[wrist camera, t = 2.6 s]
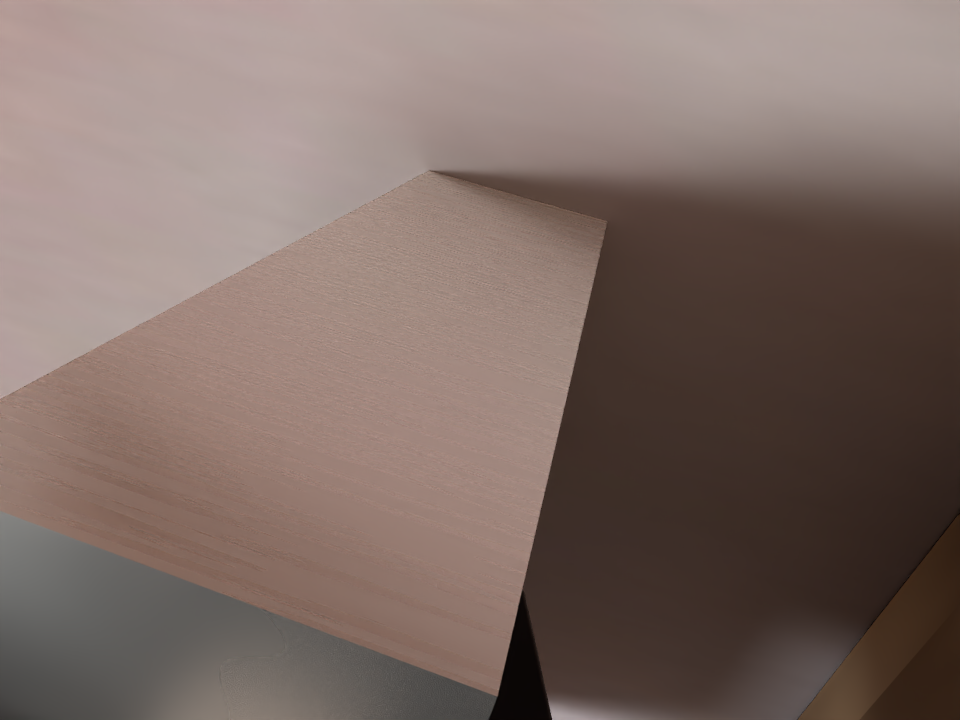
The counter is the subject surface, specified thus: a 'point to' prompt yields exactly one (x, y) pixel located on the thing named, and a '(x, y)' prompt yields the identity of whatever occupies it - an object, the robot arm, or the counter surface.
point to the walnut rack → (905, 650)
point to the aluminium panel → (300, 476)
